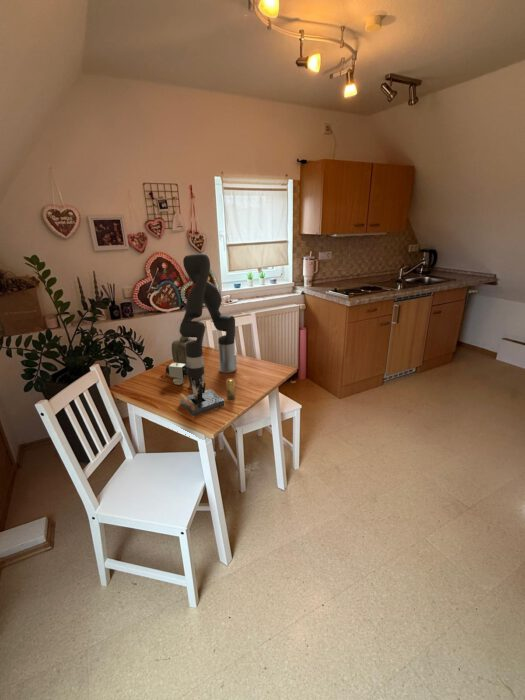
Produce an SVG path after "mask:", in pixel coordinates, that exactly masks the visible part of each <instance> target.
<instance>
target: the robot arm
mask: <svg viewBox="0 0 525 700" xmlns="http://www.w3.org/2000/svg"><path fill="white" fill-rule="evenodd" d="M182 261H183V262H182V264H183V268H184V270H185V272H186V274H187V276H188V277H189V279H190V280H191V282H192V283H193V284H194V285H193V287H192V288H191V290H190V292H188V296H187V298H186V308H185V312H184V316H183V318H182V320H181V323H180V326H179V333H180V335H181V336H183V337H188V338H196V339H194V340H195V341H191V342H188V343H187V344H186V354H187V359H186V361H187V372H188V375H187V377H188V380H189V381H188V382H189V387H191V389H192V390H193V386H192V385H195V389H196V390H197V398H198V401H200V400H202V399H203V397H202V393H205V390H206V384H207V383H206V382H205V383H203V382H202V375H203V374H204V375H205V362H204V361H205V360H204V355H203V353H204V351H203V343H204V342H203V340H204V337H205V332H206V325H205V323H204V322H203V321H199V320H194V319H199V318H200V317H202V315H203V306H205V307H206V309H207V312H208V313H209V316H210V318H211V320H212V323H213V326H214V328H215V329H216V330H217V331H220V332H226V334H224V335H222V336H219V337H218V340H217V341H218V361H219V372H221V373H223V374H229V373H233V372H235V371H236V370H237V369H238V368H237V367H238V366H237V354H236V348H235V346H236V343H235V338H236V319H235V317H234V315H228V314H222V313H221V311H220V307H221V305H222V300H223V299H222V296H221V294H220V291H219V289H218V288H217V286H215V284H214V283H212V282H210V281H208V280H209V277H210V276H209V275H210V272H211V271H210V270H211V260H210V258H209V256H208V255H207V254H206V253H194V254H188V255H186V256H184V257H183V259H182ZM197 386H199V387H197ZM198 389H199V390H198Z"/></svg>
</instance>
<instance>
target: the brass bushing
mask: <svg viewBox="0 0 525 700" xmlns="http://www.w3.org/2000/svg"><path fill="white" fill-rule="evenodd" d="M225 382H226V384H225V385H226V400H227V401H229V402H231V401H235V400H236V388H235V387H236V384H235V382H236V381H235V379H234V378H227V379H226V380H225Z"/></svg>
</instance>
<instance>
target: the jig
mask: <svg viewBox="0 0 525 700" xmlns="http://www.w3.org/2000/svg"><path fill="white" fill-rule="evenodd" d="M202 397H203V399H202V401H203V402H201V403H198V404H194V398H193V393H192V394H189V395H184V393H180V394H179V401H180V404H181V405H182V407H184V409H185V410H186V411H187V412H188V414H189V413H190V415H191V416H192V417H196V416H198V415H202V414H204V413H207V412H210V411H213V410H216V409H218V408H222V407H225V399H224V398H222V397H221V396H220V395H219V394H217V392H215V391H214V390H212V389H211V388H209V389H205V393H202Z"/></svg>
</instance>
